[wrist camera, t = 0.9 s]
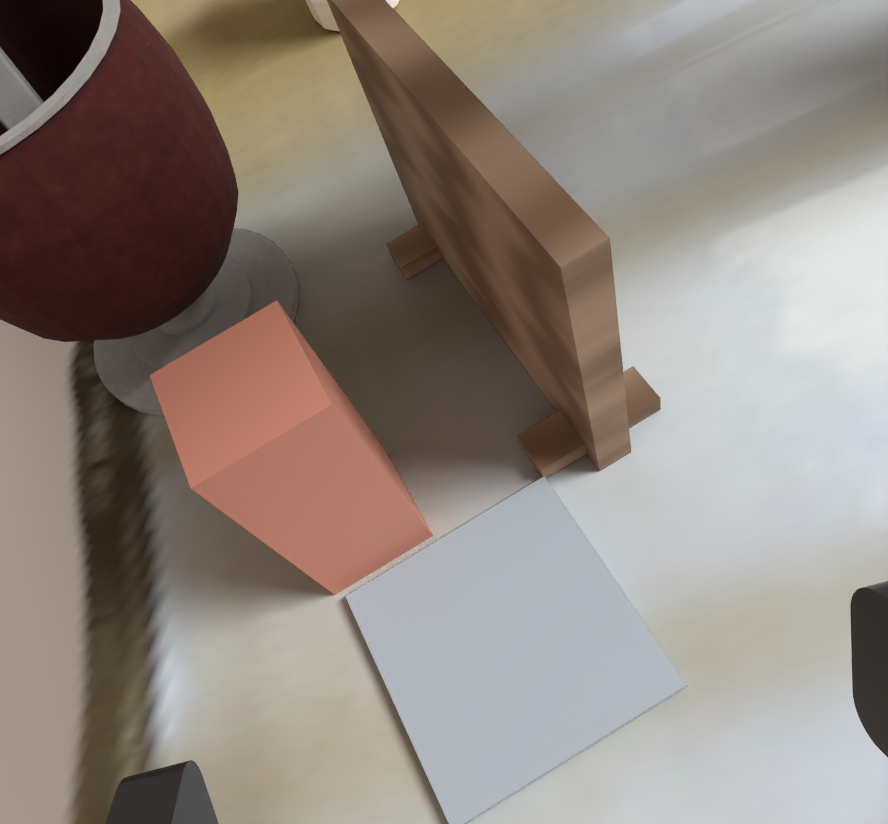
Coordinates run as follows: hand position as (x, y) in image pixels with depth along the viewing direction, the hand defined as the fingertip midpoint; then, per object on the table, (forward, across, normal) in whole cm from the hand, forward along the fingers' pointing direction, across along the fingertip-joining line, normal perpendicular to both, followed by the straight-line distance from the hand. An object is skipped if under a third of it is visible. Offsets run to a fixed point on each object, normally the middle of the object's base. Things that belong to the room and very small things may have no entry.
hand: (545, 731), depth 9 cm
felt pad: (+19, -2, +12) cm, 23 cm away
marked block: (+25, +2, +8) cm, 27 cm away
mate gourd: (+38, +10, -1) cm, 40 cm away
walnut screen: (+30, -7, +1) cm, 30 cm away
